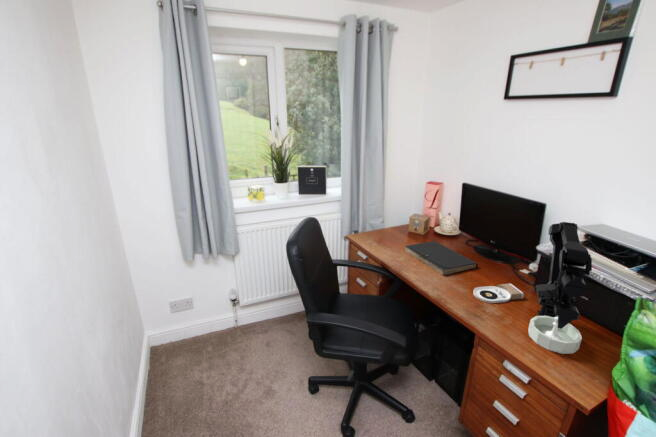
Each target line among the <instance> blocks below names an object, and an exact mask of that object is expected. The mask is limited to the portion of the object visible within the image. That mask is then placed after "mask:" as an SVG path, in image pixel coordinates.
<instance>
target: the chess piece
mask: <svg viewBox="0 0 656 437" xmlns="http://www.w3.org/2000/svg"><path fill="white" fill-rule="evenodd" d="M554 319H555V322H553V324H554V327H553V329H552V331H547V332H546V333H545V335H547V336H549V337H551V338H554V339H558V340H561V336H560V335H559V334H558V333H557V327H558V316H557V317H554Z"/></svg>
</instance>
